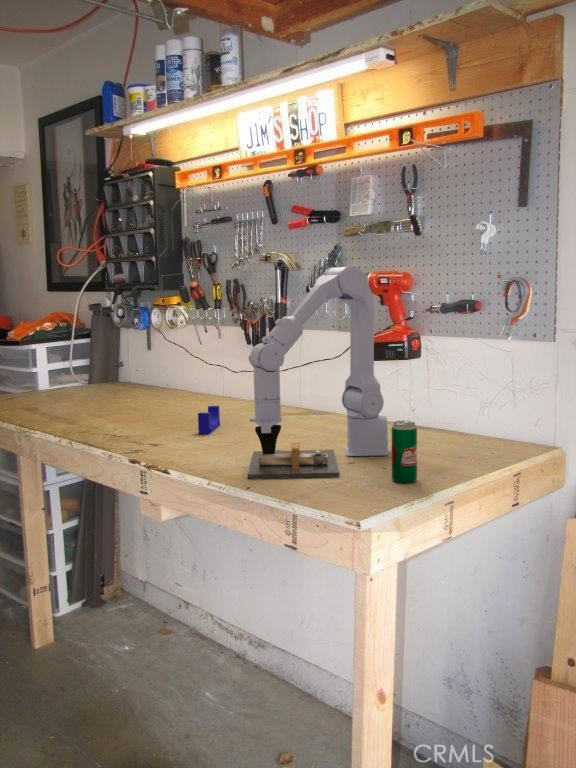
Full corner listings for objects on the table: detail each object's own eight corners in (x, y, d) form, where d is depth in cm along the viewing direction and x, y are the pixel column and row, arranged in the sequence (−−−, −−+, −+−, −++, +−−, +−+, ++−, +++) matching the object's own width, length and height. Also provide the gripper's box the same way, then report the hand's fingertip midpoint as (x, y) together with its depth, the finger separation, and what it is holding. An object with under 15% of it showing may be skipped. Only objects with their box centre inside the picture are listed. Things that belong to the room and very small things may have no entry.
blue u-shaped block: (205, 426, 199) (204, 405, 199) (220, 426, 199) (219, 405, 198) (193, 435, 188) (192, 413, 187) (209, 435, 187) (208, 413, 186)
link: (327, 460, 151) (327, 453, 151) (327, 464, 148) (327, 457, 147) (260, 460, 152) (259, 453, 152) (258, 464, 149) (258, 457, 148)
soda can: (404, 485, 135) (404, 426, 133) (386, 480, 139) (386, 422, 138) (422, 481, 138) (422, 422, 136) (404, 475, 142) (404, 419, 140)
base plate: (333, 453, 162) (333, 431, 161) (339, 477, 142) (338, 451, 142) (253, 455, 162) (252, 432, 162) (247, 479, 143) (247, 453, 142)
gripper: (252, 393, 158) (253, 450, 160) (246, 404, 143) (248, 467, 145) (282, 392, 158) (284, 450, 159) (279, 403, 143) (281, 466, 145)
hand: (269, 458), depth 152 cm, fingers closed
